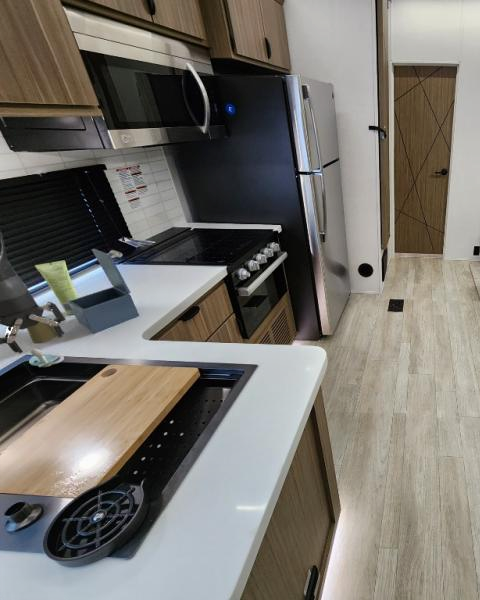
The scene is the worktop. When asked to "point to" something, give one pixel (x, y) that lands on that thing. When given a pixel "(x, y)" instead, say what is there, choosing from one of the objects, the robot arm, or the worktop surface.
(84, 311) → the blue-grey open box
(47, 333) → the cork
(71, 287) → the tube
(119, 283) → the hinged box lid
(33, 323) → the robot arm
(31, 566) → the worktop surface
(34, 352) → the pacifier
